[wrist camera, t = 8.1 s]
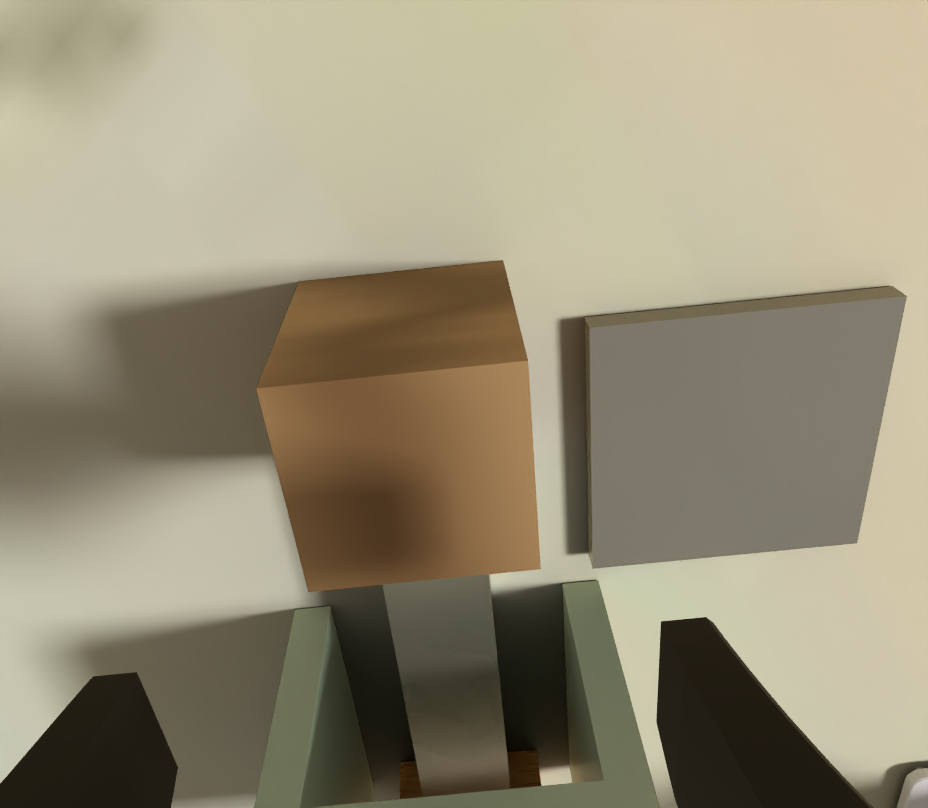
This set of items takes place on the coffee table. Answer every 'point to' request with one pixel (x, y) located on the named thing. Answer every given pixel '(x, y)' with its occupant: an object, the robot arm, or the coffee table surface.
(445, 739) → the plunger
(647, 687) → the coffee table surface
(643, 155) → the coffee table surface
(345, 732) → the sleeve
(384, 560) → the walnut block
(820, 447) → the slate coaster
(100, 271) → the coffee table surface
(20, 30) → the coffee table surface
